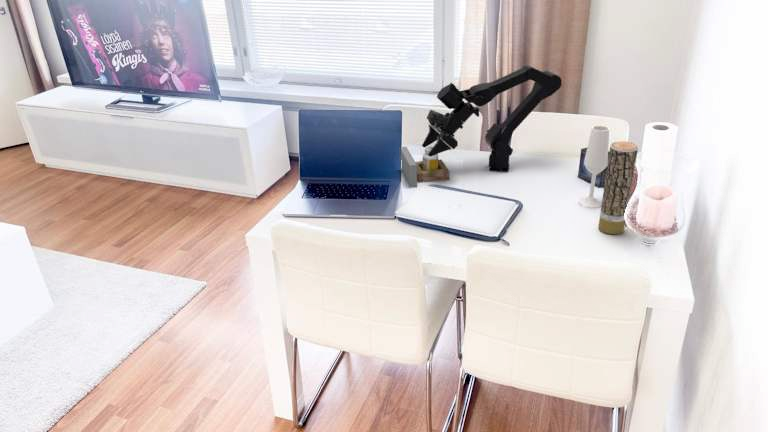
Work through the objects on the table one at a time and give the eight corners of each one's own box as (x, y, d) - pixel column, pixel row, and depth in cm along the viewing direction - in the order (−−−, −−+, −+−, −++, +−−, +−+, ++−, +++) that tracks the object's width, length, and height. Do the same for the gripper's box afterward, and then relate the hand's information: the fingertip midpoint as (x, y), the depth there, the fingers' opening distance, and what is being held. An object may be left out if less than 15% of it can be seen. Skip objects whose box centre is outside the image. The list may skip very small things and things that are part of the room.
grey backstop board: (406, 167, 211) (406, 146, 207) (417, 187, 195) (416, 164, 191) (400, 168, 211) (399, 147, 207) (410, 187, 195) (409, 165, 191)
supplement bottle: (420, 176, 203) (420, 150, 198) (425, 170, 207) (425, 144, 203) (434, 178, 201) (435, 152, 196) (439, 172, 205) (440, 146, 201)
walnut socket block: (441, 169, 210) (441, 159, 208) (449, 181, 200) (449, 170, 198) (411, 172, 208) (411, 162, 206) (417, 184, 199) (417, 173, 197)
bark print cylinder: (625, 236, 160) (640, 150, 149) (599, 234, 162) (612, 149, 151) (621, 224, 166) (635, 141, 155) (596, 223, 168) (608, 140, 157)
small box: (576, 177, 198) (579, 148, 193) (591, 173, 200) (594, 144, 196) (598, 188, 189) (602, 158, 185) (613, 184, 192) (618, 154, 187)
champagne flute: (591, 196, 184) (602, 123, 173) (606, 205, 178) (617, 129, 167) (574, 200, 182) (583, 126, 171) (588, 209, 176) (598, 133, 165)
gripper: (434, 94, 201) (404, 128, 205) (448, 109, 185) (415, 145, 188) (456, 115, 206) (426, 147, 209) (472, 131, 189) (438, 166, 193)
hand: (425, 151), depth 200 cm, fingers open, 9 cm apart
